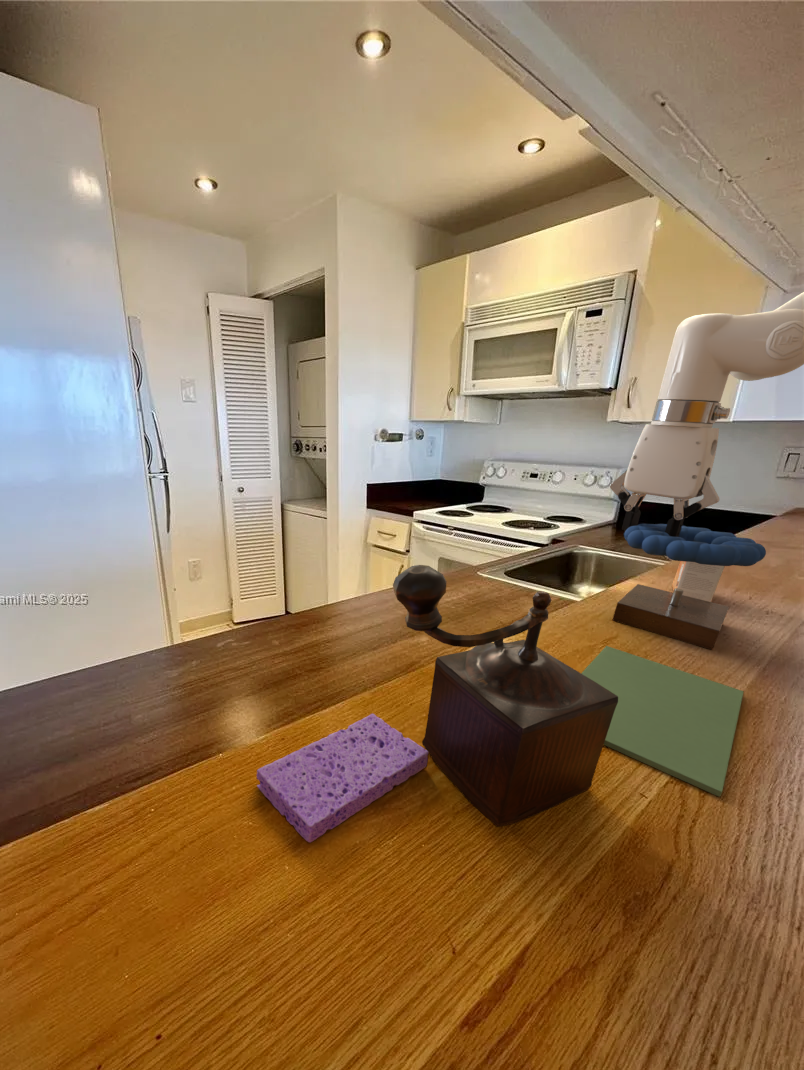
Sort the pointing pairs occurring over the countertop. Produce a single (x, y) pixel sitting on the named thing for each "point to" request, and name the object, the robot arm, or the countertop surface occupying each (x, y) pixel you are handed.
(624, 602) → the platform
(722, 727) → the mat
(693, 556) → the ring
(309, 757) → the sponge
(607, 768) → the countertop surface
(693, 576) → the small box
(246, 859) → the countertop surface
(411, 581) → the dark brown coffee grinder
